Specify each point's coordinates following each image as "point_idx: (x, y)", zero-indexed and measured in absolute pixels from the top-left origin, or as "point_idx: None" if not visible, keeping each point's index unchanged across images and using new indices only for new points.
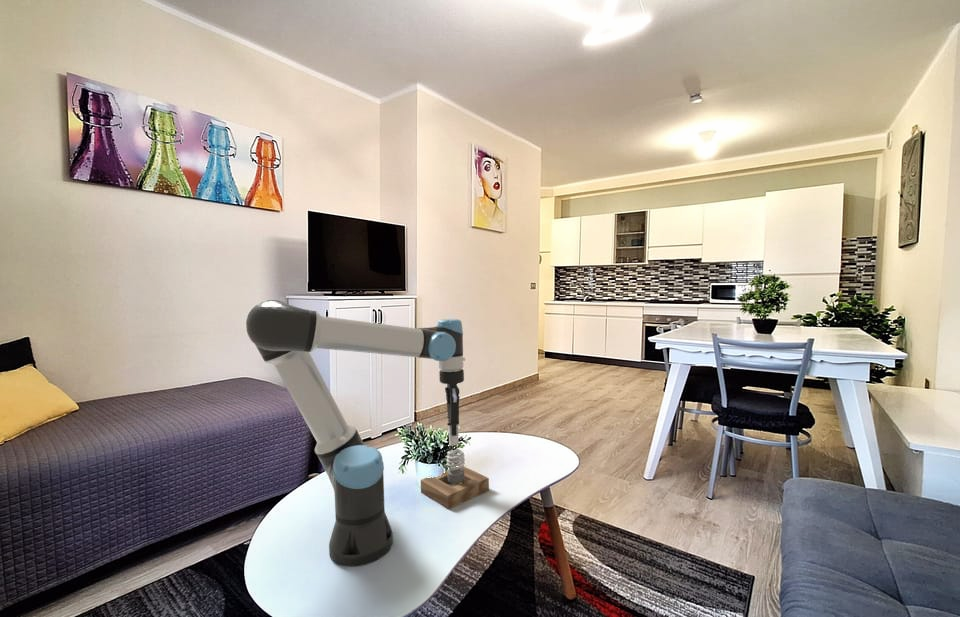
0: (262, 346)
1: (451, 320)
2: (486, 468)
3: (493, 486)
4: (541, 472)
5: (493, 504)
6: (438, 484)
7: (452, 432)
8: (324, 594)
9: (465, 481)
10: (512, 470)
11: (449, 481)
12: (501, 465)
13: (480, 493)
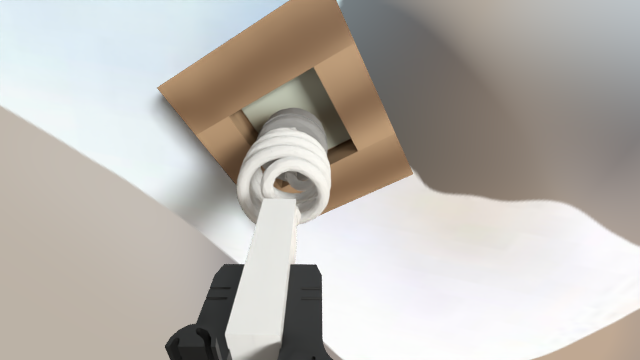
0: None
1: None
2: (421, 230)
3: (302, 224)
4: (342, 323)
5: (202, 203)
6: (260, 63)
7: (211, 291)
8: None
9: None
10: (378, 280)
11: (277, 112)
12: (420, 266)
13: None
